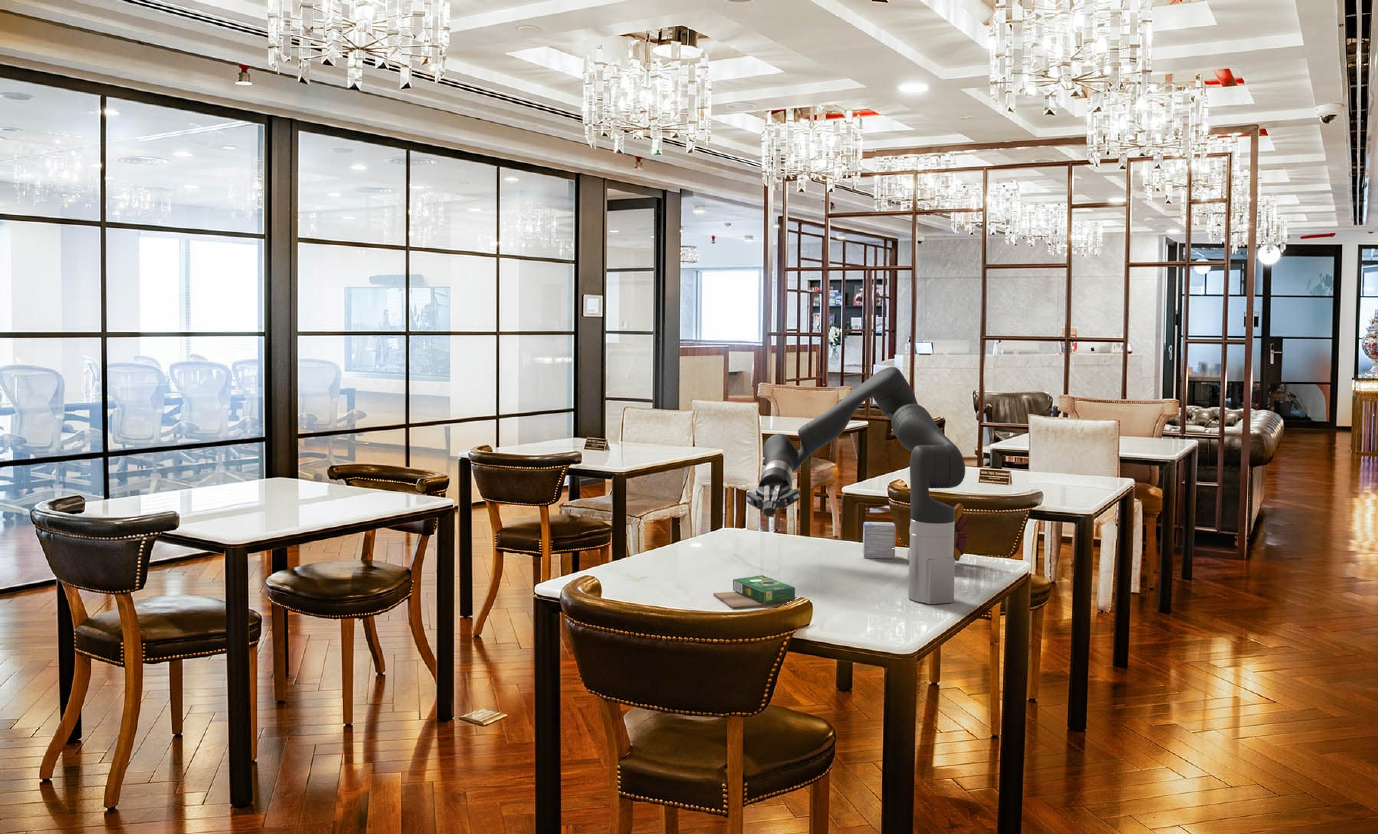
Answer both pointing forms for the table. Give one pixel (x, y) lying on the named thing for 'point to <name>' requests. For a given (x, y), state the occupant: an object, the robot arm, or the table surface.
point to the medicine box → (879, 540)
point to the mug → (957, 533)
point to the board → (743, 601)
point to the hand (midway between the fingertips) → (768, 512)
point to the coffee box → (764, 589)
